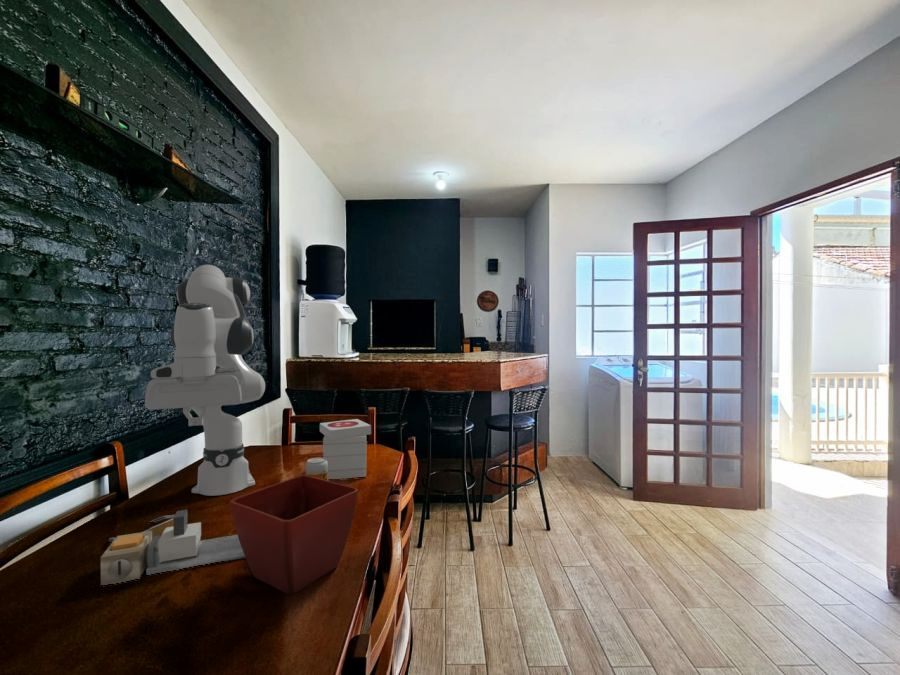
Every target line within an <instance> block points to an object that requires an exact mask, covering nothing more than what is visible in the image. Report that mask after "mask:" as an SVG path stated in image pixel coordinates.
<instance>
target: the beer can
mask: <svg viewBox="0 0 900 675" xmlns="http://www.w3.org/2000/svg"><path fill="white" fill-rule="evenodd" d="M305 475H308V476H312V477H315V478H319V479H323V480H327V481H329V480H328V462H327V460H326V458H323V457H321V456H318V457H312V458H309V459H307V460H306V464H305Z"/></svg>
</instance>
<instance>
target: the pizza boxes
mask: <svg viewBox="0 0 900 675" xmlns="http://www.w3.org/2000/svg"><path fill="white" fill-rule="evenodd" d="M319 432H320V433H321V434H322V435H323V438H322V445H323V446H322V456H323V457H322V458H326V460H327V462H328V479H340V478H352V477H365V476H366V477H367V435H368V436H369V435H372V425H371V424H369V423H367V422H364V421H362V420H360V419H358V418H353V419H345V420H339V421H338V420H336V421H327V422H320V423H319ZM340 480H341V479H340Z"/></svg>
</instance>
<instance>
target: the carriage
mask: <svg viewBox="0 0 900 675" xmlns="http://www.w3.org/2000/svg"><path fill="white" fill-rule="evenodd" d="M174 515H175V516H174V517H172V519H173V527H167V528H166V529H165V530H164V532H163V534H162V536H161V537H160V539H159V541H158V555H160V562H163V561H169V560H174V559H180V558H185V557H191V556H197V554H198V542H199V541H201V537H202V522H200V521H199V522H194V523H193V522H192V523H188V509H182V510H177V511H176V513H175V514H174Z"/></svg>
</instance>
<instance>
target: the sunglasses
mask: <svg viewBox="0 0 900 675" xmlns="http://www.w3.org/2000/svg"><path fill="white" fill-rule="evenodd" d="M174 516H175V514H172V515H171V514H169V515H164V516H159V517H158V518H155V519H153V520H151V521H149V522H154V523H157V522H158V521H162V520H164V519H168V520H166V521H164V522H162V523H159V524H156V525H154V526H151V527H150V528H148V529H146V530H144V531H143V532H147V531H152V540H153V538H154V537H155V536H157V535H160V537H161V536H162V534H163V532H164V530H165V529H166V528H167V527H173V518H174ZM115 539H116V537H110V538H109V539H108V541H109V542H113V541H114V540H115Z"/></svg>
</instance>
